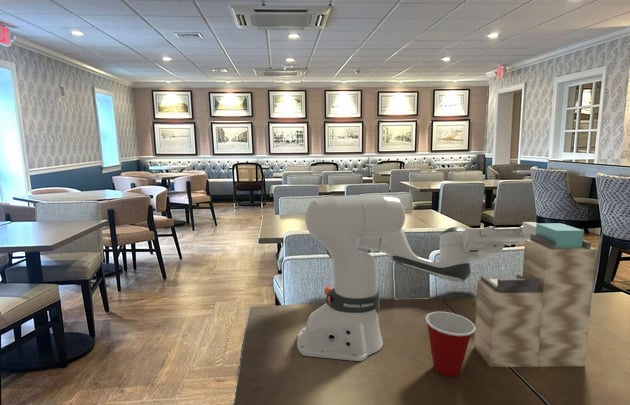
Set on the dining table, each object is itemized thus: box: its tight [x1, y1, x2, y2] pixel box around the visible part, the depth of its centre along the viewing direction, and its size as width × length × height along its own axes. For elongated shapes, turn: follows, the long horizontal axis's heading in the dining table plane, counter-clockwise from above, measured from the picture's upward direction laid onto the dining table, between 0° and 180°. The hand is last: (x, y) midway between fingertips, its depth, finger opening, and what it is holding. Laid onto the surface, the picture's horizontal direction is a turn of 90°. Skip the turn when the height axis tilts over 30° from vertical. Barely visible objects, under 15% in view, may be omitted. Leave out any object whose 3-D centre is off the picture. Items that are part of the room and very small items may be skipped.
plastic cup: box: [425, 311, 476, 378], centre depth 88 cm, size 11×11×12 cm
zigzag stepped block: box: [473, 234, 597, 368], centre depth 92 cm, size 22×9×30 cm, turn 90°
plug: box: [521, 221, 585, 248], centre depth 95 cm, size 6×17×4 cm, turn 0°
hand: (508, 228), depth 114 cm, fingers open, 8 cm apart
